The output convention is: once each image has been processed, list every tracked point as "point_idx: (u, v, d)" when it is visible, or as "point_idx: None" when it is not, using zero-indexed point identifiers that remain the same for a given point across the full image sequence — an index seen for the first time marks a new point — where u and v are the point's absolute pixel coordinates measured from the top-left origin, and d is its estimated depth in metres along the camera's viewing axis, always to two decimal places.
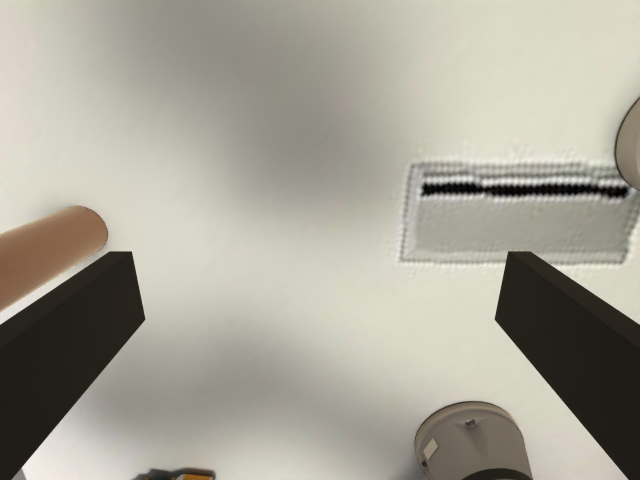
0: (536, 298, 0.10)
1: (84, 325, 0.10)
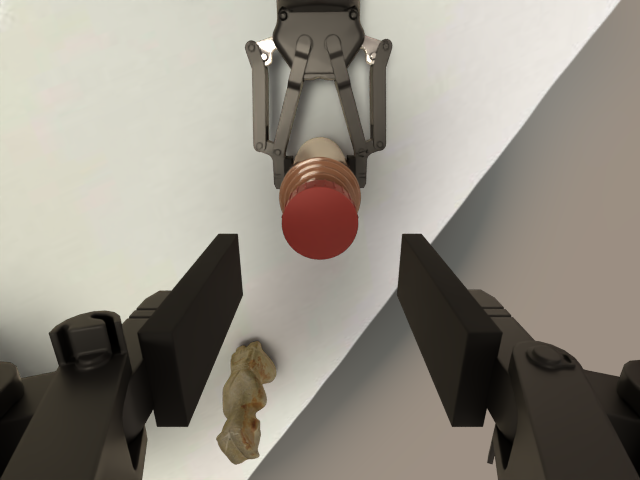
0: (412, 272, 0.12)
1: (220, 292, 0.11)
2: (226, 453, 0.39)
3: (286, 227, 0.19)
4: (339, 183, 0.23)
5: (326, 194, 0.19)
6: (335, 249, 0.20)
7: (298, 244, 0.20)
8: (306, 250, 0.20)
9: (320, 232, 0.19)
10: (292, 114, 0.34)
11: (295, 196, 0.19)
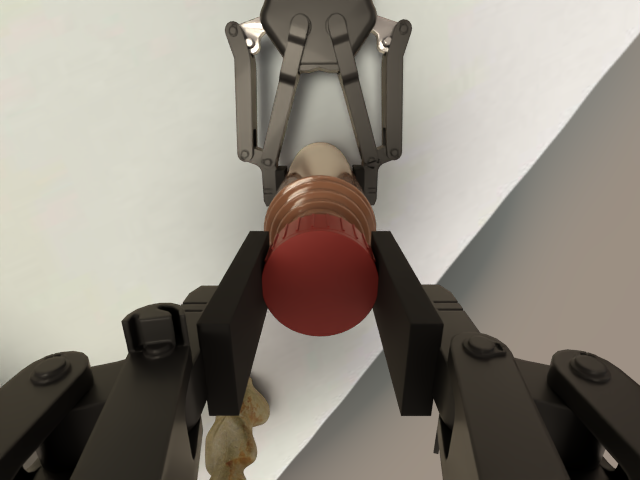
0: (377, 268, 0.12)
1: (258, 288, 0.12)
2: None
3: (268, 290, 0.12)
4: (348, 214, 0.16)
5: (330, 242, 0.12)
6: (343, 322, 0.13)
7: (287, 315, 0.13)
8: (299, 323, 0.13)
9: (320, 298, 0.13)
10: (285, 115, 0.27)
11: (281, 245, 0.12)
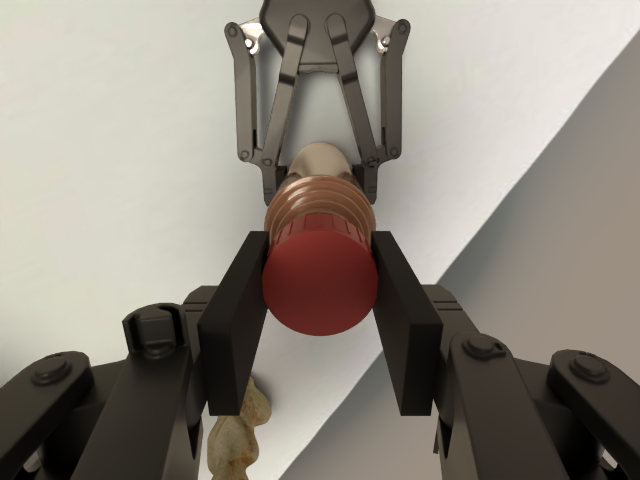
0: (377, 268, 0.12)
1: (258, 287, 0.12)
2: None
3: (319, 330, 0.13)
4: (347, 213, 0.16)
5: (273, 273, 0.12)
6: (364, 268, 0.12)
7: (348, 318, 0.13)
8: (359, 309, 0.13)
9: (332, 287, 0.12)
10: (285, 115, 0.27)
11: (273, 313, 0.13)
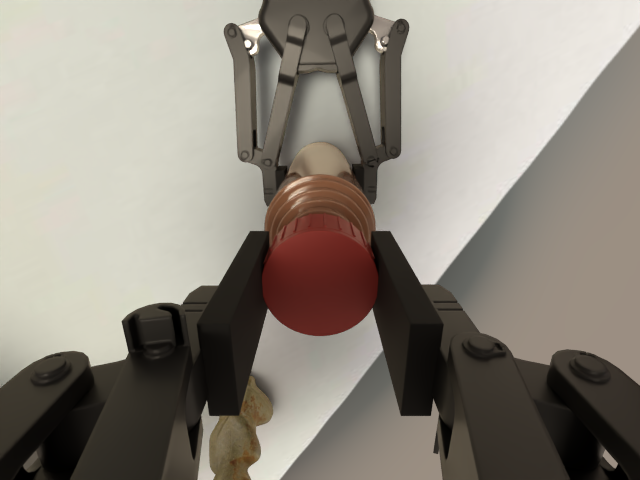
0: (377, 268, 0.12)
1: (258, 287, 0.12)
2: None
3: (371, 292, 0.12)
4: (347, 212, 0.16)
5: (301, 324, 0.13)
6: (303, 243, 0.12)
7: (361, 263, 0.12)
8: (351, 251, 0.12)
9: (322, 275, 0.12)
10: (284, 115, 0.27)
11: (345, 329, 0.13)
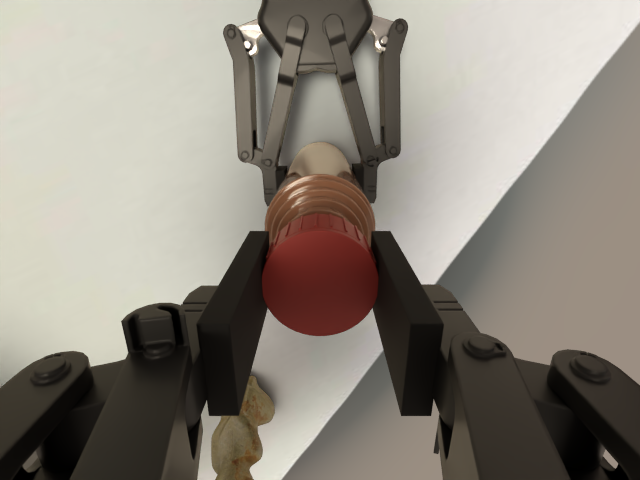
0: (377, 268, 0.12)
1: (258, 288, 0.12)
2: None
3: (332, 238, 0.12)
4: (346, 212, 0.16)
5: (361, 307, 0.13)
6: (273, 295, 0.13)
7: (298, 246, 0.12)
8: (284, 255, 0.12)
9: (307, 283, 0.12)
10: (284, 115, 0.27)
11: (374, 266, 0.12)
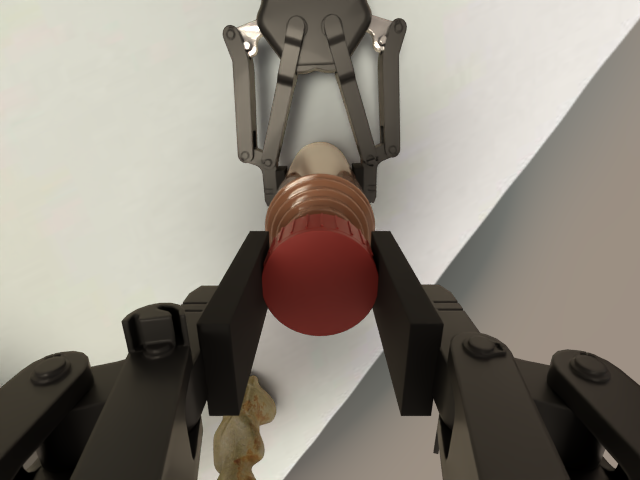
0: (377, 268, 0.12)
1: (258, 288, 0.12)
2: None
3: (269, 271, 0.12)
4: (346, 211, 0.16)
5: (349, 249, 0.12)
6: (325, 327, 0.13)
7: (276, 300, 0.13)
8: (284, 313, 0.13)
9: (315, 297, 0.13)
10: (284, 116, 0.28)
11: (303, 233, 0.12)
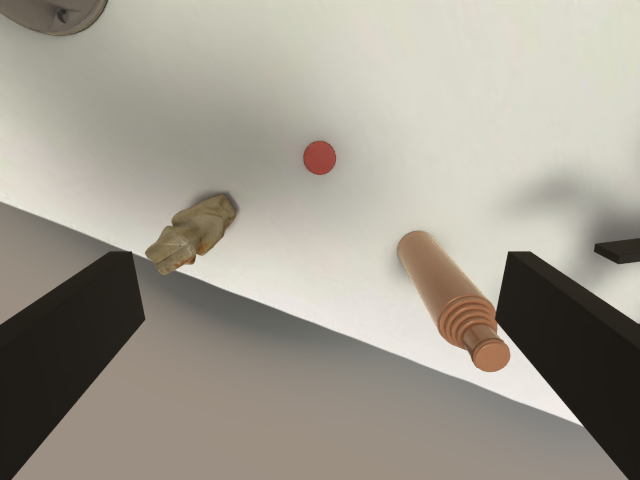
0: (536, 298, 0.10)
1: (84, 325, 0.10)
2: (161, 244, 0.36)
3: (313, 171, 0.47)
4: None
5: (309, 149, 0.46)
6: (332, 158, 0.46)
7: (322, 171, 0.47)
8: (326, 169, 0.47)
9: (322, 160, 0.46)
10: None
11: (304, 161, 0.46)
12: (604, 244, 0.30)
